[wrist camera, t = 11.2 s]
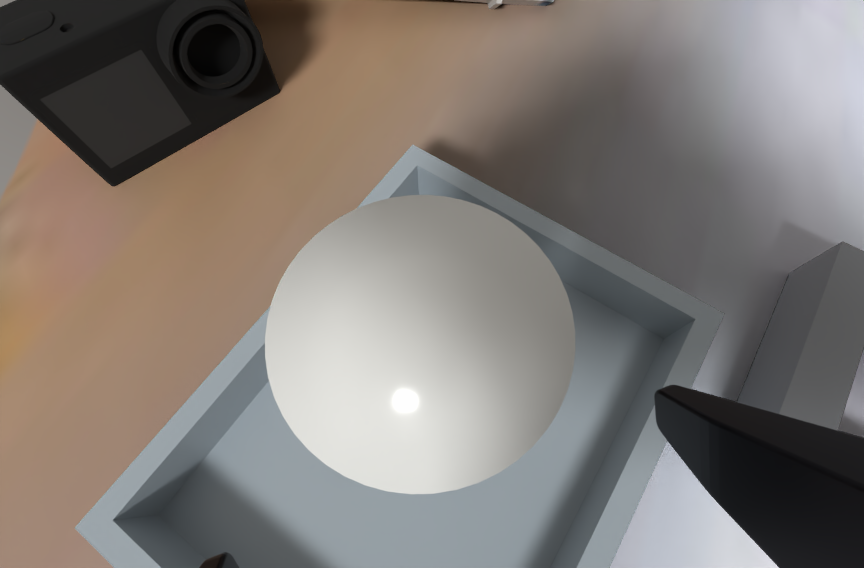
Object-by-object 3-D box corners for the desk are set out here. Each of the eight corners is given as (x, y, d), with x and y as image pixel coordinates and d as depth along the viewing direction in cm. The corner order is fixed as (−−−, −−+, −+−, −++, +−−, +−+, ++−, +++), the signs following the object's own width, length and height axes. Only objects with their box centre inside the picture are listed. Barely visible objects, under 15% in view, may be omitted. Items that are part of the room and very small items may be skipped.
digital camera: (121, 205, 23) (0, 98, 17) (79, 141, 25) (-46, 21, 18) (293, 105, 26) (246, -21, 19) (244, 53, 27) (186, -78, 21)
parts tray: (450, 810, 14) (454, 909, 11) (142, 519, 17) (74, 527, 14) (677, 341, 20) (724, 313, 17) (416, 191, 23) (412, 144, 20)
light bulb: (486, 485, 17) (589, 503, 6) (367, 479, 17) (234, 485, 6) (486, 366, 18) (564, 199, 7) (377, 361, 18) (292, 189, 7)
